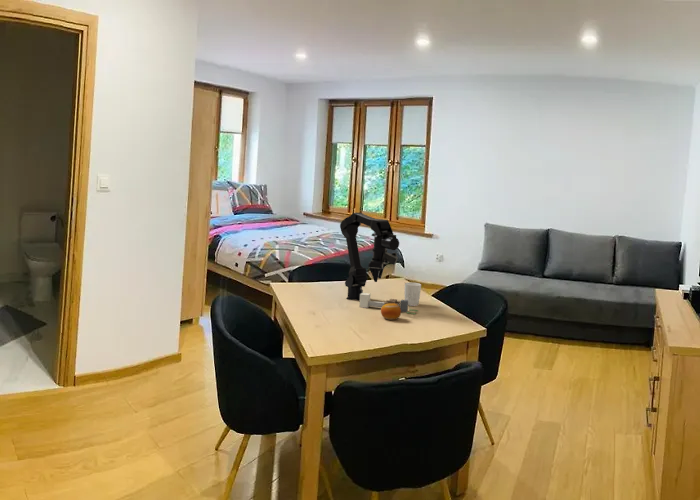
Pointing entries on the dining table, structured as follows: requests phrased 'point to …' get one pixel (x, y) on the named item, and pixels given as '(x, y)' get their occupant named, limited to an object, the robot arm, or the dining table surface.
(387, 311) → the fruit
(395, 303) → the housing
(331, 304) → the dining table surface
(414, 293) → the white cup
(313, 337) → the dining table surface
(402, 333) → the dining table surface
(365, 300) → the grey bar
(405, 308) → the telltale
